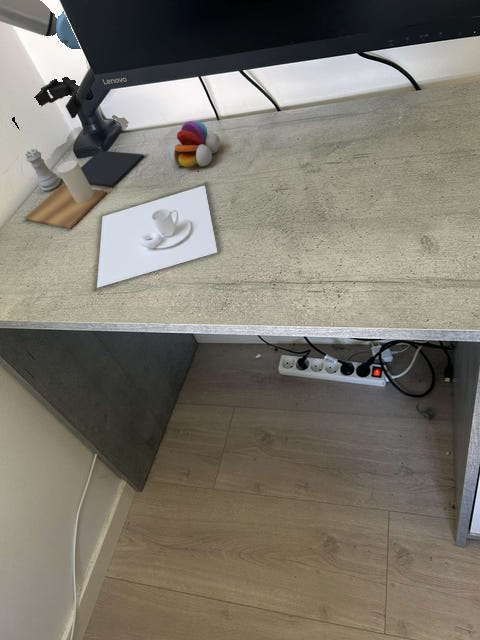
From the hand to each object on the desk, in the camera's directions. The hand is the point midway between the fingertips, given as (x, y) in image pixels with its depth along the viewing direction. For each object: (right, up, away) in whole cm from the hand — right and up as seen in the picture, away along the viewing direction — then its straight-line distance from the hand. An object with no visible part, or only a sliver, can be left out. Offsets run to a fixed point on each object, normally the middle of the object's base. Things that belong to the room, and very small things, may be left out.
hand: (41, 118), depth 103 cm
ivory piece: (+11, -18, -7) cm, 23 cm away
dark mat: (+14, -11, 0) cm, 17 cm away
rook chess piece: (+2, -14, +1) cm, 14 cm away
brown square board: (+7, -20, -6) cm, 22 cm away
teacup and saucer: (+27, -28, -20) cm, 44 cm away
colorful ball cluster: (+34, -11, -6) cm, 36 cm away
